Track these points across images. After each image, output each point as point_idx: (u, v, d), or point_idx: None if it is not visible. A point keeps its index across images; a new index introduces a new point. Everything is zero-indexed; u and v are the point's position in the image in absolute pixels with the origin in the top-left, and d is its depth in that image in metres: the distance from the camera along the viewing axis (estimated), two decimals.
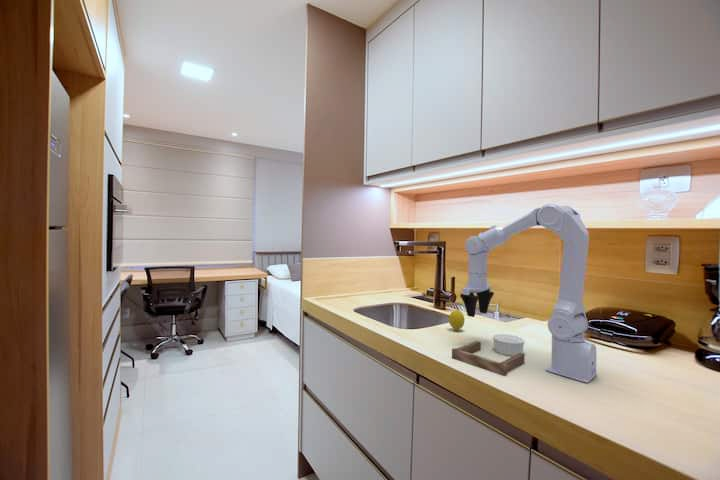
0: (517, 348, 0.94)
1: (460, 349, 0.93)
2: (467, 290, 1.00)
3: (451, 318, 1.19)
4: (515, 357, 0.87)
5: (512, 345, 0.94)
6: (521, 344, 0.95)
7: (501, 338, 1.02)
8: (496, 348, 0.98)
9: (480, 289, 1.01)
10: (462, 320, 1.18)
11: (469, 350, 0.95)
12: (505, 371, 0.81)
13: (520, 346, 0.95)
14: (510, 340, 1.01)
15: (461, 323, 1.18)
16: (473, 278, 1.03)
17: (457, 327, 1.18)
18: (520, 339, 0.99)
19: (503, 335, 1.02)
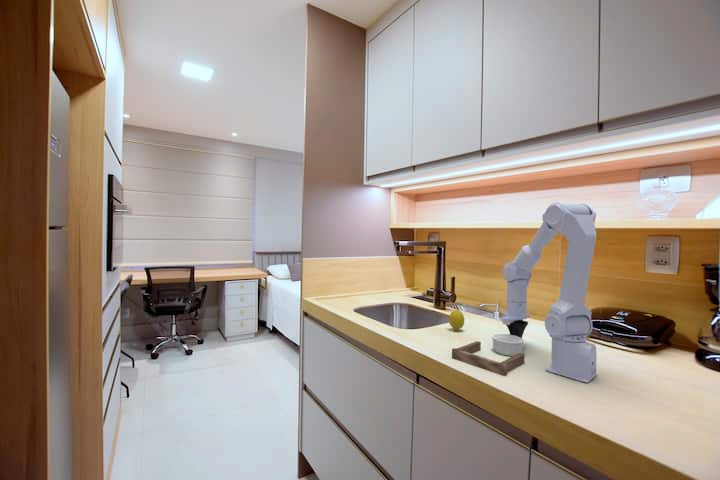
0: (516, 348, 0.94)
1: (460, 349, 0.93)
2: (508, 320, 0.97)
3: (451, 318, 1.19)
4: (515, 357, 0.87)
5: (511, 344, 0.94)
6: (520, 344, 0.94)
7: (501, 338, 1.02)
8: (495, 348, 0.97)
9: (520, 318, 0.98)
10: (462, 320, 1.18)
11: (469, 350, 0.95)
12: (505, 371, 0.81)
13: (519, 346, 0.94)
14: (509, 340, 1.01)
15: (461, 323, 1.18)
16: (512, 306, 1.00)
17: (457, 327, 1.18)
18: (519, 339, 0.98)
19: (502, 335, 1.02)
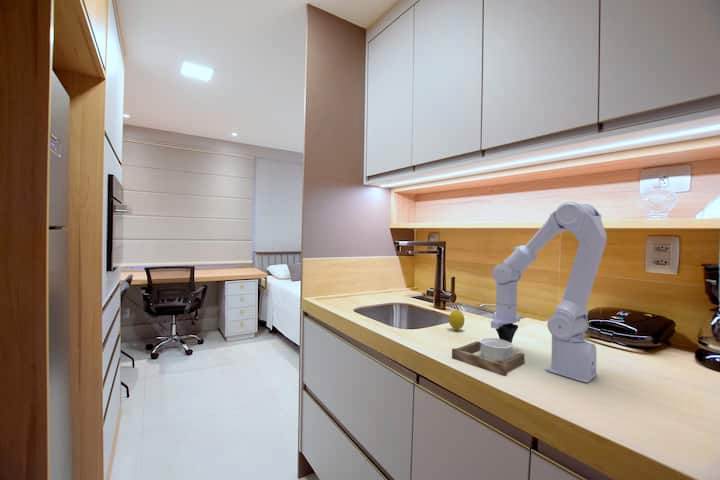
0: (504, 353, 0.90)
1: (460, 349, 0.93)
2: (496, 323, 0.92)
3: (451, 318, 1.19)
4: (515, 357, 0.87)
5: (499, 349, 0.89)
6: (508, 349, 0.90)
7: (489, 342, 0.97)
8: (483, 353, 0.93)
9: (510, 322, 0.94)
10: (462, 320, 1.18)
11: (469, 350, 0.95)
12: (505, 371, 0.81)
13: (507, 351, 0.90)
14: (498, 344, 0.97)
15: (461, 323, 1.18)
16: (502, 309, 0.95)
17: (457, 327, 1.18)
18: (508, 343, 0.94)
19: (491, 339, 0.98)
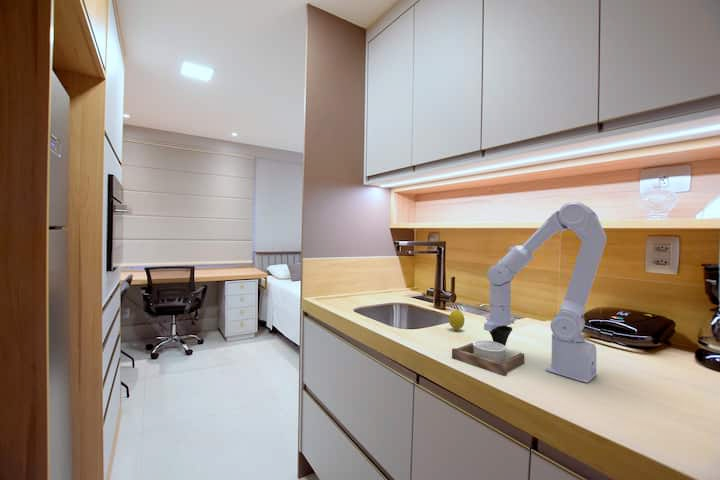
0: (497, 356, 0.87)
1: (460, 349, 0.93)
2: (489, 326, 0.90)
3: (451, 318, 1.19)
4: (515, 357, 0.87)
5: (492, 352, 0.87)
6: (502, 352, 0.87)
7: (483, 345, 0.95)
8: None
9: (504, 324, 0.91)
10: (462, 320, 1.18)
11: (469, 350, 0.95)
12: (505, 371, 0.81)
13: (501, 354, 0.87)
14: (492, 347, 0.94)
15: (461, 323, 1.18)
16: (495, 311, 0.93)
17: (457, 327, 1.18)
18: (502, 346, 0.91)
19: (485, 342, 0.95)
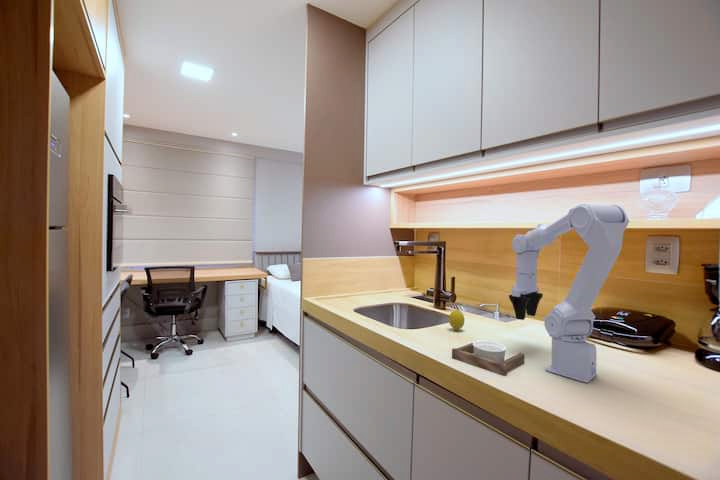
0: (497, 356, 0.87)
1: (460, 349, 0.93)
2: (518, 291, 0.94)
3: (451, 318, 1.19)
4: (515, 357, 0.87)
5: (492, 353, 0.87)
6: (502, 352, 0.87)
7: (483, 345, 0.95)
8: None
9: (530, 290, 0.96)
10: (462, 320, 1.18)
11: (469, 350, 0.95)
12: (505, 371, 0.81)
13: (501, 355, 0.87)
14: (492, 348, 0.94)
15: (461, 323, 1.18)
16: (522, 278, 0.97)
17: (457, 327, 1.18)
18: (502, 347, 0.91)
19: (485, 342, 0.95)
